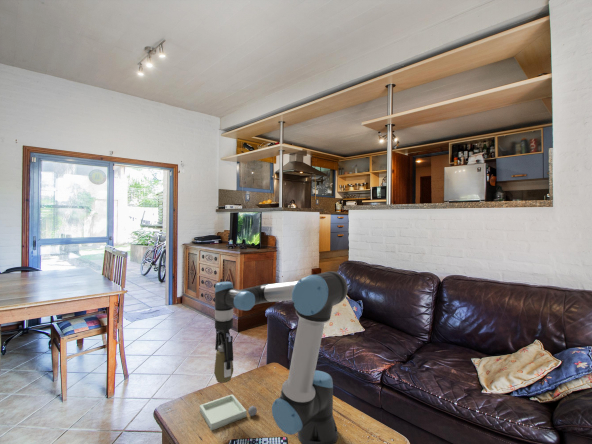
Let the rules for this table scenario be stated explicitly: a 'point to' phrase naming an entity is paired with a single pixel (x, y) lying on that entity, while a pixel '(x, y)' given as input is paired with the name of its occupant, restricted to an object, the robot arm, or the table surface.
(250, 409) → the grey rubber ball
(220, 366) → the squeeze bottle
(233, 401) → the tray
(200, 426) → the table surface
